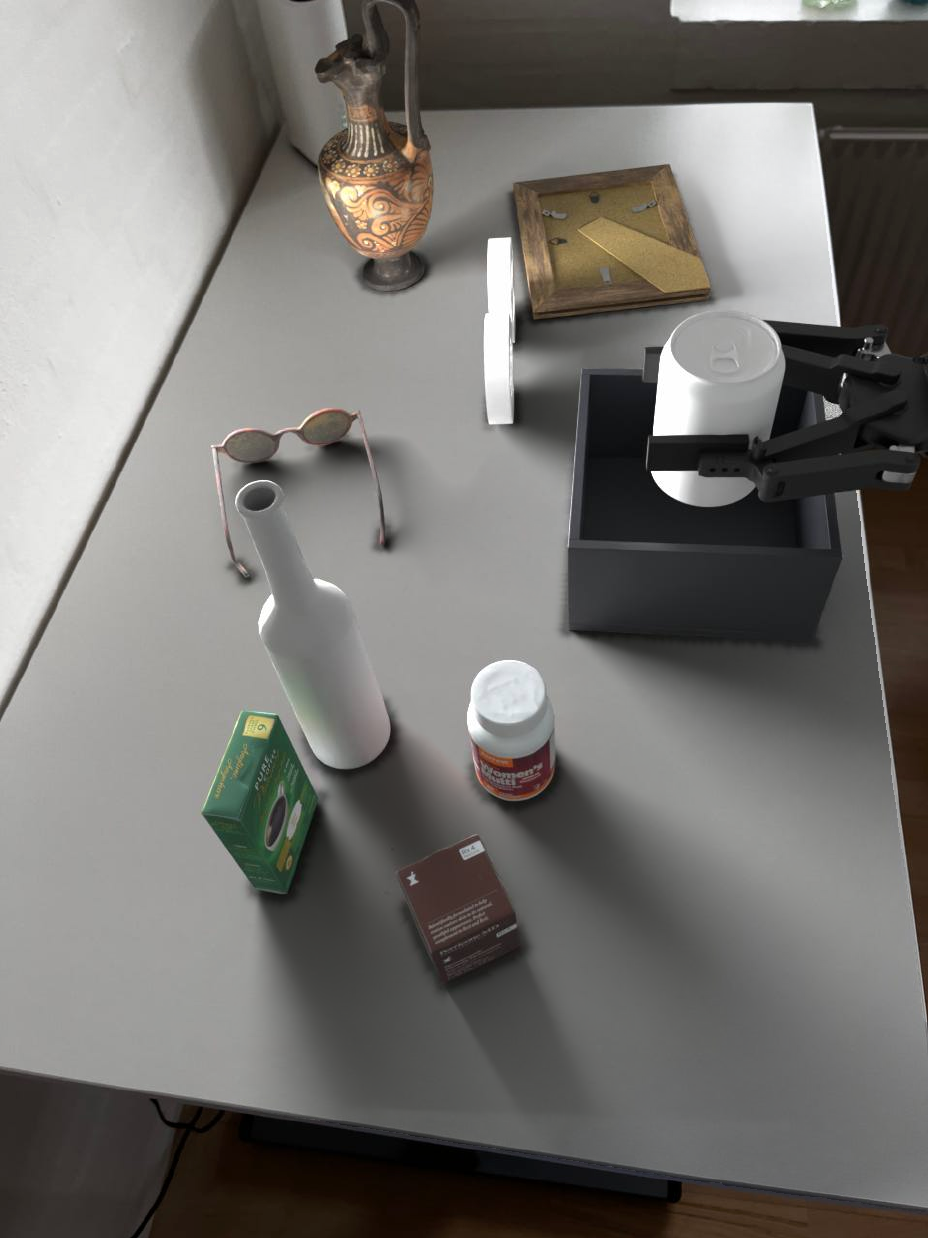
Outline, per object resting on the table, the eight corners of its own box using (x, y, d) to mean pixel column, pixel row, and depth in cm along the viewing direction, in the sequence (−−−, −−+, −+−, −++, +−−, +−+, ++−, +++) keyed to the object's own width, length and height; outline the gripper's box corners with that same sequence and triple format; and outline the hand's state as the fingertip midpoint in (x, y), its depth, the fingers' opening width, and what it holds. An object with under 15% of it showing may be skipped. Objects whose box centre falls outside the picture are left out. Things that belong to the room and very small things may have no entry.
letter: (513, 445, 95) (507, 364, 86) (490, 446, 95) (482, 365, 87) (515, 299, 107) (510, 215, 99) (495, 300, 107) (489, 217, 99)
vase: (362, 238, 116) (306, -48, 91) (463, 247, 113) (433, -44, 88) (328, 301, 110) (258, 13, 85) (434, 313, 107) (393, 19, 82)
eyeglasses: (365, 432, 97) (356, 394, 93) (394, 544, 89) (386, 507, 85) (220, 467, 96) (204, 430, 92) (236, 583, 88) (219, 548, 84)
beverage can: (757, 434, 75) (785, 305, 66) (762, 515, 71) (793, 389, 61) (650, 431, 77) (662, 304, 67) (648, 510, 72) (660, 386, 62)
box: (441, 986, 67) (428, 955, 61) (408, 907, 70) (392, 870, 64) (522, 947, 68) (517, 913, 62) (485, 870, 71) (477, 831, 65)
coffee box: (286, 788, 76) (239, 705, 65) (321, 795, 75) (280, 711, 65) (252, 889, 72) (195, 817, 61) (289, 896, 71) (238, 825, 60)
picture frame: (709, 301, 104) (668, 175, 117) (711, 286, 102) (669, 161, 116) (533, 321, 105) (513, 194, 118) (533, 307, 103) (512, 180, 117)
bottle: (376, 684, 81) (298, 440, 58) (401, 751, 77) (329, 519, 54) (299, 712, 80) (190, 476, 57) (321, 781, 76) (213, 558, 53)
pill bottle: (479, 808, 74) (466, 737, 64) (472, 735, 77) (458, 658, 68) (561, 798, 74) (559, 726, 64) (550, 726, 77) (547, 648, 68)
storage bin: (812, 642, 79) (842, 557, 70) (568, 630, 82) (567, 547, 73) (795, 463, 90) (820, 370, 81) (580, 458, 93) (581, 367, 84)
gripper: (1003, 559, 64) (646, 558, 66) (939, 343, 75) (638, 349, 78) (1049, 481, 57) (654, 483, 60) (972, 258, 69) (644, 268, 72)
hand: (645, 407), depth 69 cm, fingers closed on beverage can, 8 cm apart
